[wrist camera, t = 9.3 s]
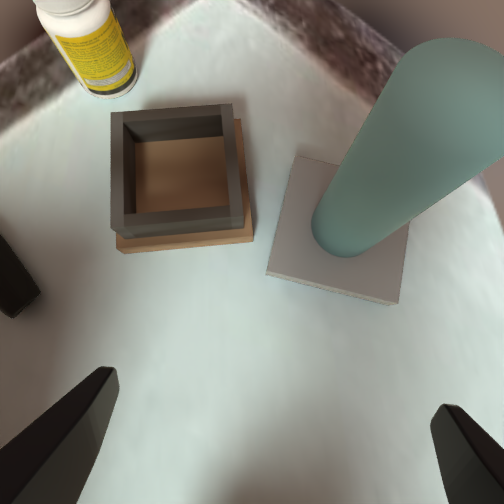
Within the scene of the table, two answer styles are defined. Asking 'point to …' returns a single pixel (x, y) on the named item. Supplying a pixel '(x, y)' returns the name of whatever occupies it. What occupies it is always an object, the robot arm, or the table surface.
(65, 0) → the supplement bottle
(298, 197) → the pad
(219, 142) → the socket
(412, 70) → the peg
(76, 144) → the table surface
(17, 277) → the electric trimmer
